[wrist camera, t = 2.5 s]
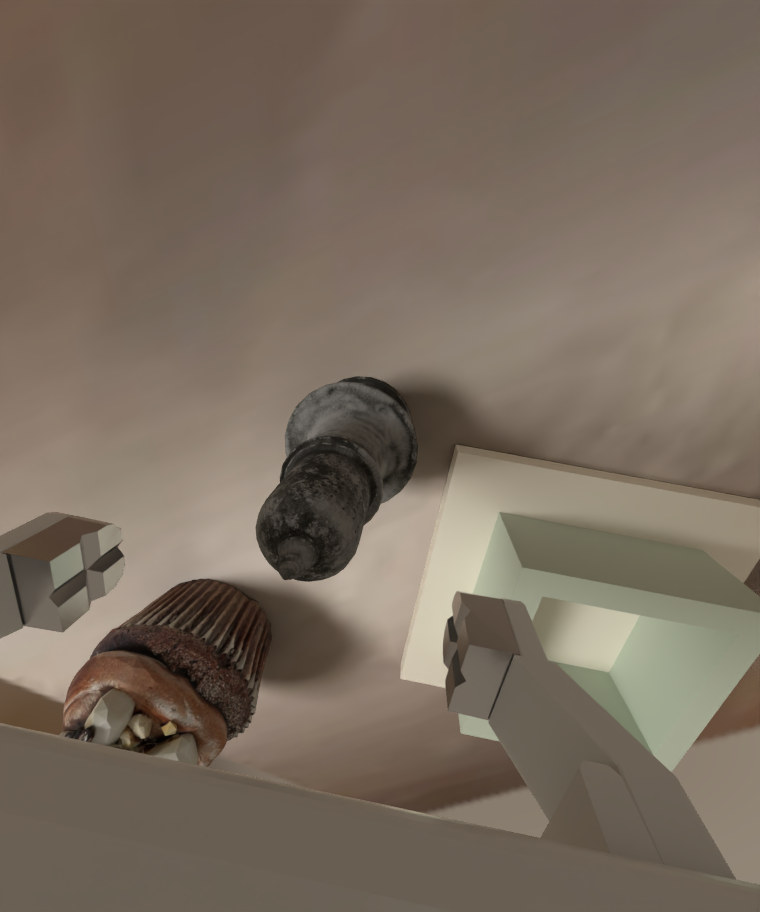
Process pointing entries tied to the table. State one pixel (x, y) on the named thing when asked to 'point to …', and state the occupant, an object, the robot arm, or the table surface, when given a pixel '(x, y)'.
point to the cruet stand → (600, 586)
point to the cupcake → (174, 676)
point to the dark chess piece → (335, 476)
